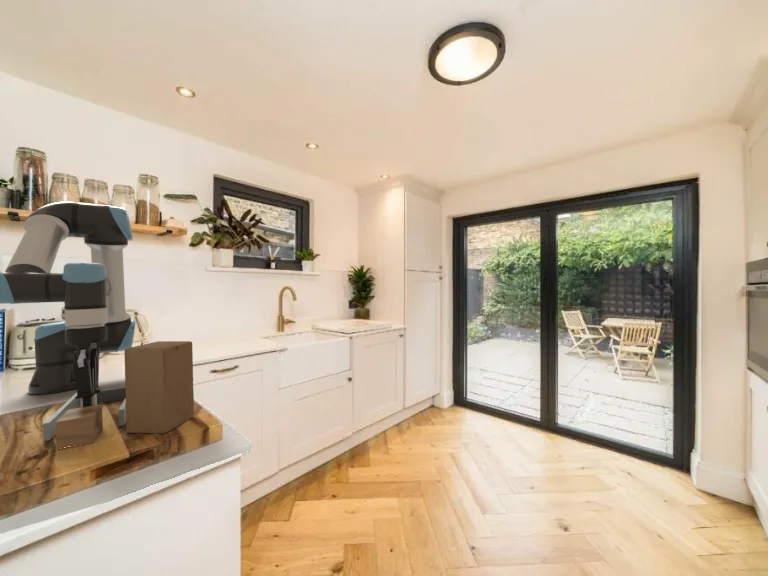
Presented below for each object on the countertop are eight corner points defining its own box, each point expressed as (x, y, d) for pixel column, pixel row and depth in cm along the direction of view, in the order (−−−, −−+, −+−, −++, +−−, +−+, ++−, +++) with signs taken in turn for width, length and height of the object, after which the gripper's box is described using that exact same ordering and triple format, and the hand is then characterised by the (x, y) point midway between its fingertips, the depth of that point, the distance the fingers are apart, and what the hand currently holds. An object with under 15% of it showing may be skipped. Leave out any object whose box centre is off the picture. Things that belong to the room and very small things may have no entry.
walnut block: (68, 435, 73) (68, 409, 73) (102, 428, 76) (102, 404, 76) (56, 450, 66) (55, 422, 66) (94, 442, 69) (93, 415, 69)
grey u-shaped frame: (77, 405, 92) (77, 391, 92) (137, 395, 100) (137, 382, 100) (43, 441, 70) (43, 423, 70) (124, 425, 78) (123, 409, 78)
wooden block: (195, 416, 82) (193, 341, 82) (164, 434, 72) (162, 348, 72) (160, 415, 83) (158, 341, 83) (125, 433, 73) (123, 348, 73)
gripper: (73, 324, 80) (76, 416, 80) (55, 330, 69) (58, 437, 69) (112, 322, 84) (114, 410, 84) (100, 327, 73) (103, 428, 73)
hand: (89, 422), depth 76 cm, fingers closed
